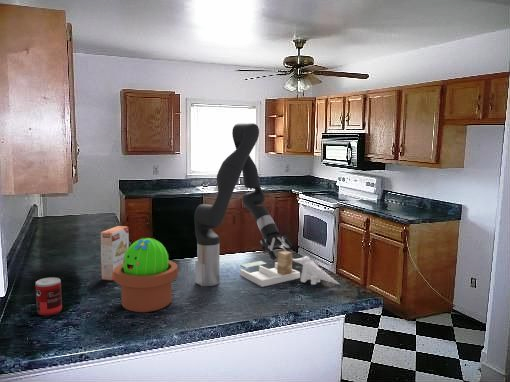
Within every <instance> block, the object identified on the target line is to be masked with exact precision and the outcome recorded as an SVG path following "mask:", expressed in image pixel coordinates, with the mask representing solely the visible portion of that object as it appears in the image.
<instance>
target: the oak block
mask: <svg viewBox="0 0 510 382" xmlns="http://www.w3.org/2000/svg"><path fill="white" fill-rule="evenodd" d="M292 259H293V252H292V251H291V252H289V251H286V250H281V251H277V261H276V262H277V273H278V274H281V275H286V274H290V273H292V269H293V261H292Z"/></svg>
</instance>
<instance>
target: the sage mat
mask: <svg viewBox="0 0 510 382" xmlns="http://www.w3.org/2000/svg"><path fill="white" fill-rule="evenodd" d="M265 264H267V262H265V261H263V260H258V261H257V260H256V261H253V262H249V263H248V262H247V263H241V264H240V266H241V267H242V268H244V269H245V268H250V267H251V268H252V267H256V266H260V265H261V266H263V265H265Z"/></svg>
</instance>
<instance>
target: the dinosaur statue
mask: <svg viewBox="0 0 510 382" xmlns="http://www.w3.org/2000/svg"><path fill="white" fill-rule="evenodd" d="M292 262H295V263H297V264H300V265H302V269H301V273H300V282H301V283H306V282H307V281H310V284H311V285H317V284H318V283H320V282H321V280H322V281H325V282H327V283H328V282H329V283H333V284H336V285H340V282H338V281H337V280H336V279H334V277H331V275H329V274H328V273H327V272H326V270H323V268H322V267H321V268H320V267H319V265H318V264H317V263H315V261H314V260H311V258H310V256H308V255H305V256H302V257H300V258H292Z"/></svg>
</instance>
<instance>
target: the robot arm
mask: <svg viewBox="0 0 510 382" xmlns="http://www.w3.org/2000/svg"><path fill="white" fill-rule="evenodd" d="M231 132H232V139H233V143H234V147H235V149H234V151H233V152H232V153H230V154H229V155H228V156H227V157H226V158H225V159H224V160H223V162H222V163H221V165H220V167H219V169H218V171H217V175H216V186H217V196H216V198H215V200H214V203H213V204H206V203H203V204H202V203H201V204H199V205H198V206H197V207H196V209H195V210H194V218H193V219H194V233H195V238H196V243H197V244H196V246H197V249H196V253H197V254H196V256H197V258H196V259H197V260H195V270H194V271H195V283H196V284H198V285H199V286H200V287H213V286H217V285H219V284H220V236H219V235H218V234H217V233H216V232H215V231H214V230H213V229H217V228H219V227H220V226H221V225H222V223H223V221H224V219H225V216H226V213H227V211H228V210H227V209H228V207H229V203H230V200H231V199H232V195H233V193H234V190H235V188H236V186H237V184H238V182H239V179H240V176H241V174H242V178H243V179H242V180H243V184H244V187H245V188H246V189H254V191H253V190H252V191H249V192H246V193H244V194H243V195H242V198H241V199H242V200H241V201H242V203H243V205H244V207H245V208H246V210H248V211H249V212H250V213H251V215H252V216H253V218H254V220H255V222H256V224H257V227H258V229H259V231H260V234H261V236H262V239H261V240H260V241H259V244H260V247H261V249H262V252H263V253H264V254H266V253H267V254H268V255H269V257H270V259H271V260H272V262H273V261H277V256H276V254H275V252H274V251H273V249H274V248H280V249H283V251H285V250H286V251H289V252H291V253H292V251H291V249H290V248H291V247H292V246H293V244H292V243H291V241H290V239H289V237H288V236H287V235H286V234H284V235H283V236H281V235H280V231H279V229H278V227H277V224H276V223H275V221H274V219H273V217H272V216H271V214H270V212H269V210H268V209H267V207H266V206H265V205H263V204H264V203H265V200H266V197H265V194H264V192H263V189H262V188H261V184H260V179H259V174H258V173H259V172H258V169H257V166H256V164H255V161H254V160H253V159H252V157H251V156H250V154H251V153H252V150H253V149H254V147H255V145H256V143H257V142H258V139H259V136H260V128H259V126H258V125H257V124H256V123H252V122H249V123H247V122H240V123H236V124H235V125H234V126H233V127H232V131H231Z"/></svg>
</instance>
